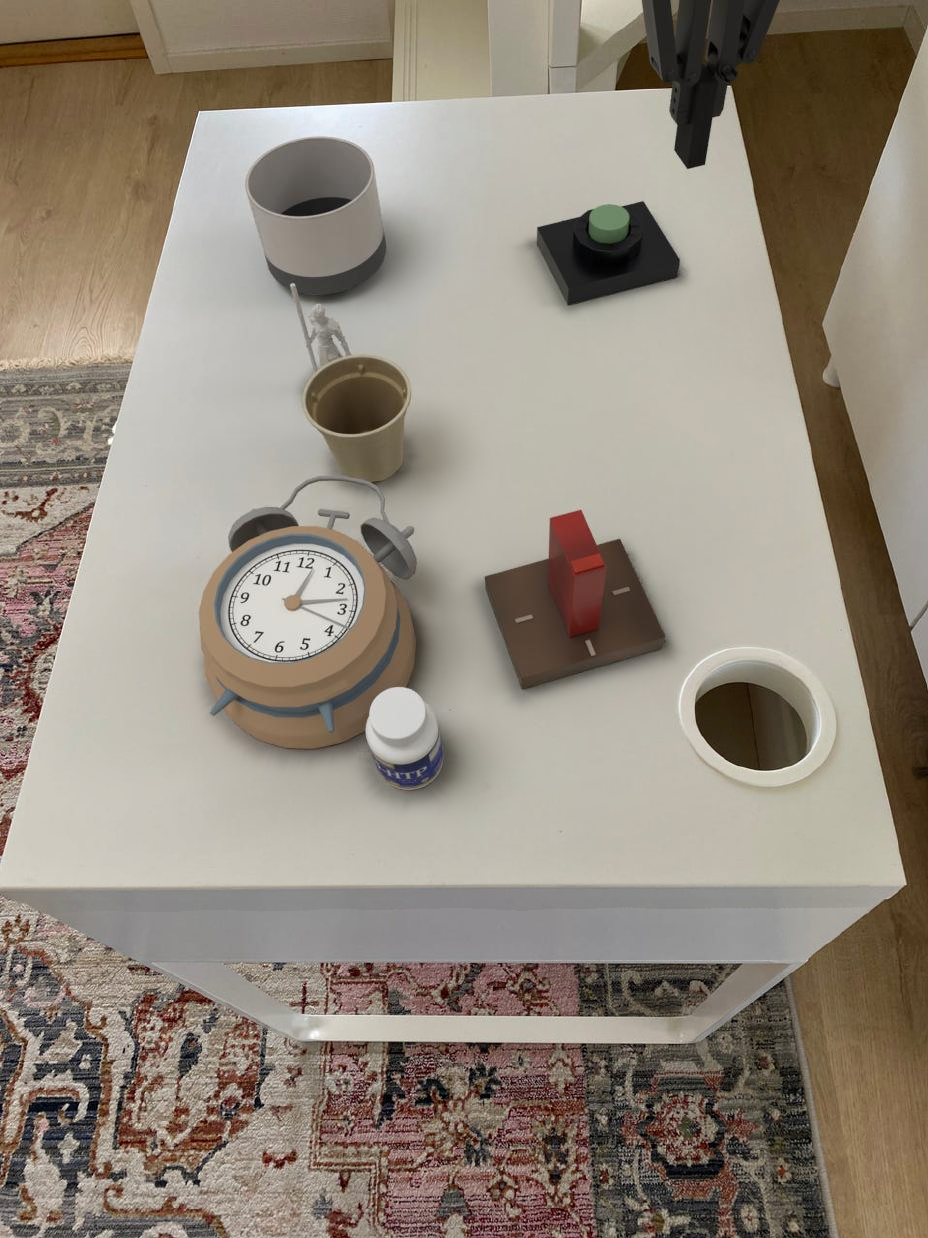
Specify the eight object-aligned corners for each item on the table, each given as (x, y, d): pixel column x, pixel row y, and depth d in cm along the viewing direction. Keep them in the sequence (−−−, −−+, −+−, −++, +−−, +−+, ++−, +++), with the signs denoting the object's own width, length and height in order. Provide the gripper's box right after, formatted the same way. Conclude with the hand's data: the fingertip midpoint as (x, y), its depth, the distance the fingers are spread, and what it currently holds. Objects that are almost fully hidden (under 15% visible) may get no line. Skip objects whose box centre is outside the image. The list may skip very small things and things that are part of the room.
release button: (619, 214, 97) (620, 199, 96) (633, 238, 95) (635, 224, 94) (583, 223, 97) (583, 209, 96) (596, 248, 95) (597, 233, 94)
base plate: (618, 551, 81) (620, 536, 79) (662, 648, 76) (666, 635, 74) (485, 588, 80) (484, 575, 78) (521, 689, 75) (521, 677, 73)
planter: (247, 264, 103) (219, 177, 94) (339, 208, 106) (321, 120, 97) (317, 322, 97) (295, 236, 88) (412, 262, 101) (400, 174, 92)
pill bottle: (370, 787, 72) (351, 743, 64) (383, 724, 74) (366, 674, 67) (439, 795, 71) (428, 751, 63) (449, 731, 74) (440, 681, 66)
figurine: (301, 397, 92) (272, 300, 82) (328, 361, 94) (303, 262, 84) (347, 413, 91) (324, 316, 80) (373, 376, 93) (353, 277, 83)
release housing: (641, 218, 102) (645, 185, 99) (677, 277, 97) (682, 244, 94) (536, 244, 101) (537, 212, 98) (567, 305, 96) (569, 273, 93)
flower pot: (410, 504, 85) (399, 440, 77) (310, 494, 86) (289, 431, 79) (429, 425, 90) (420, 357, 82) (333, 417, 91) (315, 350, 83)
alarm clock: (142, 684, 67) (237, 436, 78) (184, 735, 75) (264, 503, 86) (375, 717, 64) (438, 456, 76) (392, 766, 72) (447, 523, 84)
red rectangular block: (547, 582, 78) (549, 515, 70) (576, 574, 78) (581, 506, 70) (569, 637, 75) (573, 575, 67) (599, 629, 75) (607, 565, 67)
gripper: (662, -176, 52) (628, 204, 72) (880, -222, 53) (787, 165, 73) (614, -225, 56) (595, 149, 76) (818, -267, 57) (746, 112, 77)
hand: (689, 156), depth 75 cm, fingers closed
